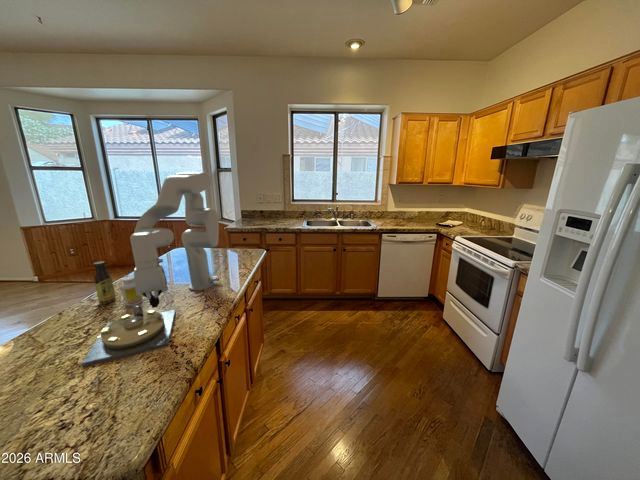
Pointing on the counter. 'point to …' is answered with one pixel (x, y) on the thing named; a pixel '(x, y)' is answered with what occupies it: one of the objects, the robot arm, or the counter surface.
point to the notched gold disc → (132, 329)
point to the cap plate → (104, 354)
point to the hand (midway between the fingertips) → (155, 305)
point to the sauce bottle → (103, 284)
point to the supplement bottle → (130, 292)
